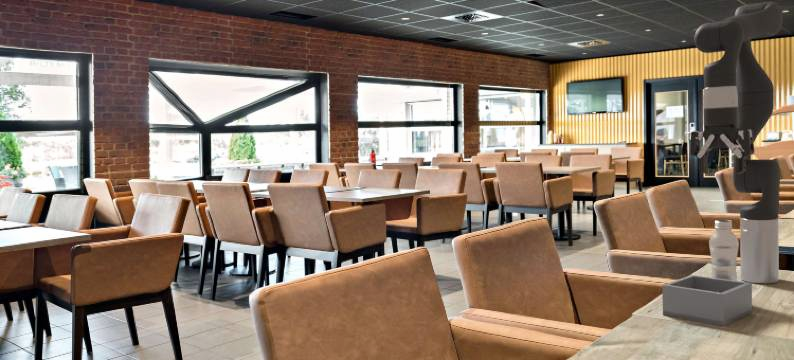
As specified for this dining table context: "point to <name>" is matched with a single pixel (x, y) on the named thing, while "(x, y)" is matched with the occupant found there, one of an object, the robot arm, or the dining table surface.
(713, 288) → the box
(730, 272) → the plastic bottle
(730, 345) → the dining table surface
